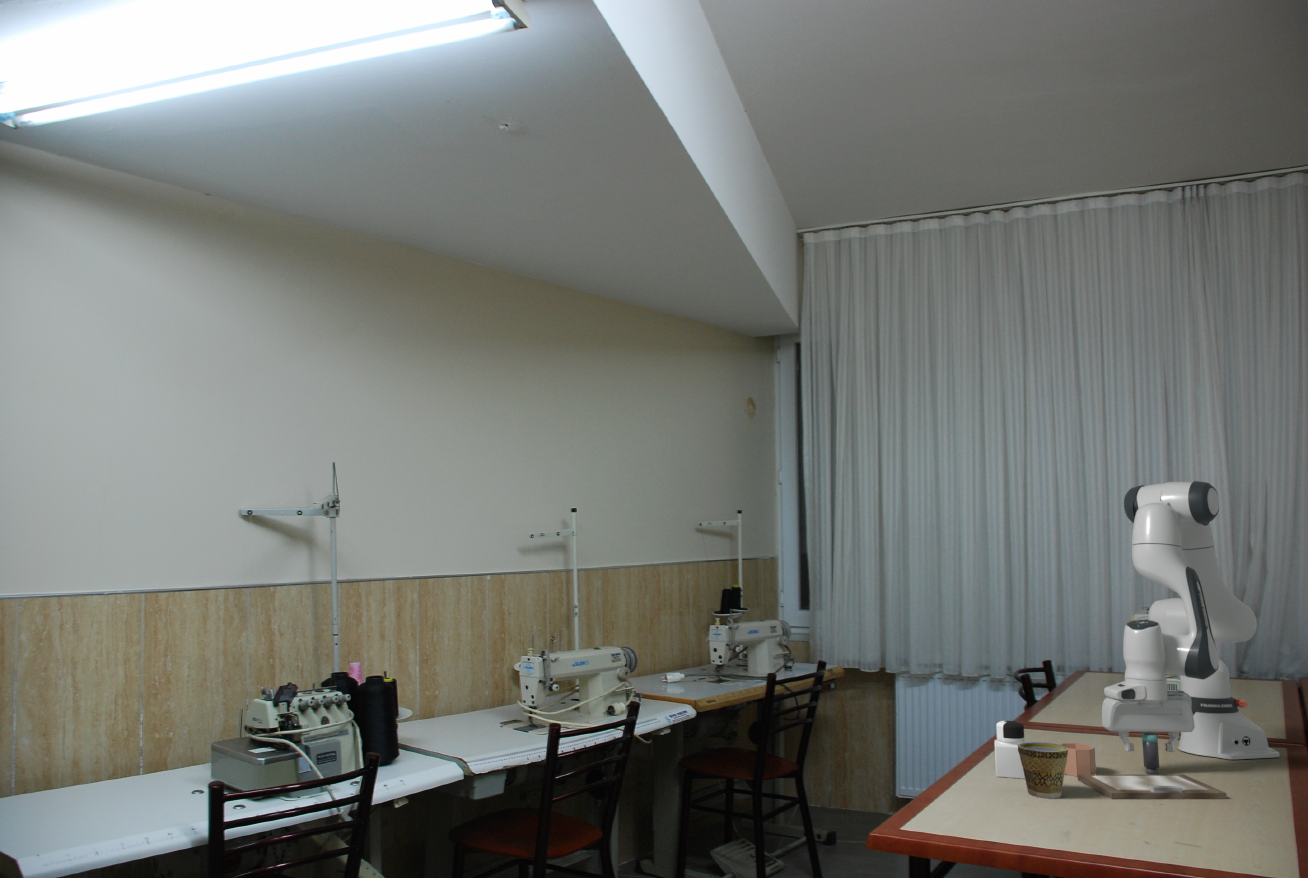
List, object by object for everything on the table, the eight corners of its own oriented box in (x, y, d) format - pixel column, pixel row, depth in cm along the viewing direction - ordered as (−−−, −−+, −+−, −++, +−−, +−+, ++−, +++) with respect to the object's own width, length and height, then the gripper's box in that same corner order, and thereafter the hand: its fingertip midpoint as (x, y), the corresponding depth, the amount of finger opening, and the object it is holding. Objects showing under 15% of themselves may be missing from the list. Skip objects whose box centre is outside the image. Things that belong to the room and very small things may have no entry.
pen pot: (1085, 768, 221) (1084, 742, 222) (1100, 776, 214) (1099, 749, 214) (1054, 768, 221) (1053, 742, 222) (1068, 776, 214) (1066, 749, 214)
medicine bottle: (1027, 772, 218) (1025, 720, 219) (1029, 779, 211) (1026, 725, 212) (995, 770, 220) (993, 718, 221) (996, 777, 213) (993, 723, 215)
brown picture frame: (1183, 779, 210) (1183, 769, 210) (1226, 798, 194) (1225, 787, 195) (1077, 779, 210) (1077, 769, 211) (1111, 798, 194) (1111, 788, 195)
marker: (1155, 771, 218) (1152, 732, 219) (1162, 775, 215) (1160, 735, 216) (1141, 771, 218) (1138, 732, 219) (1148, 775, 215) (1146, 735, 216)
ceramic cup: (1081, 798, 195) (1078, 749, 196) (1041, 802, 192) (1038, 752, 193) (1039, 783, 207) (1037, 737, 208) (1001, 787, 204) (999, 740, 205)
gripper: (1182, 688, 221) (1186, 748, 220) (1097, 688, 222) (1100, 747, 220) (1198, 692, 215) (1202, 754, 213) (1109, 692, 215) (1113, 753, 214)
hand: (1149, 751), depth 217 cm, fingers open, 8 cm apart
